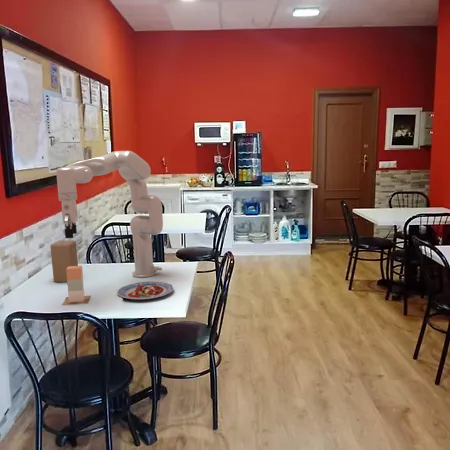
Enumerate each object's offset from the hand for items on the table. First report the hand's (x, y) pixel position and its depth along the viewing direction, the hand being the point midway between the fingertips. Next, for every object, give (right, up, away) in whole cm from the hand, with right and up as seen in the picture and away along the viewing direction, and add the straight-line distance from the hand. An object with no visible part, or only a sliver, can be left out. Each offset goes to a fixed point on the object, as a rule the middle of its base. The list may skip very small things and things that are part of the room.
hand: (71, 235), depth 207 cm
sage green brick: (+1, -24, +4) cm, 24 cm away
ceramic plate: (+30, -28, +16) cm, 43 cm away
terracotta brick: (+1, -19, +3) cm, 19 cm away
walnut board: (+1, -30, +5) cm, 30 cm away
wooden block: (-16, -24, +42) cm, 51 cm away
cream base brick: (+1, -29, +5) cm, 29 cm away
